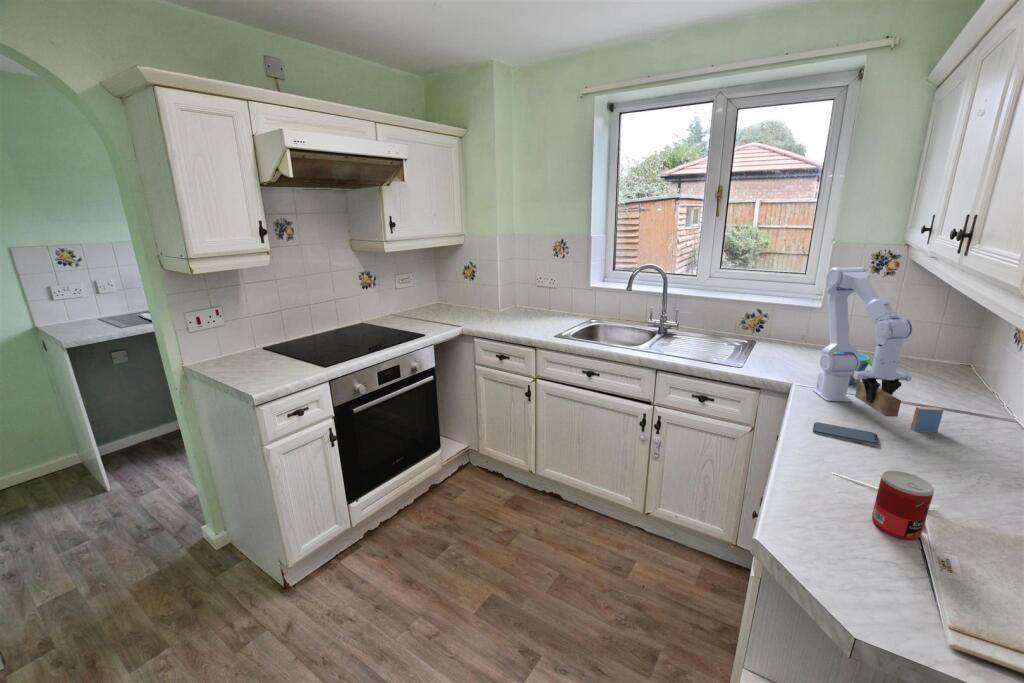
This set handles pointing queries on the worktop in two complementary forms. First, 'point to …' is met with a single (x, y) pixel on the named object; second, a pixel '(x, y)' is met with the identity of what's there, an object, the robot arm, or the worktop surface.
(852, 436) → the smartphone
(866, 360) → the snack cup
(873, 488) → the fork
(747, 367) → the worktop surface
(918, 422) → the tile
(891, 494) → the canned food
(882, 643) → the worktop surface
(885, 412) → the long wooden beam
